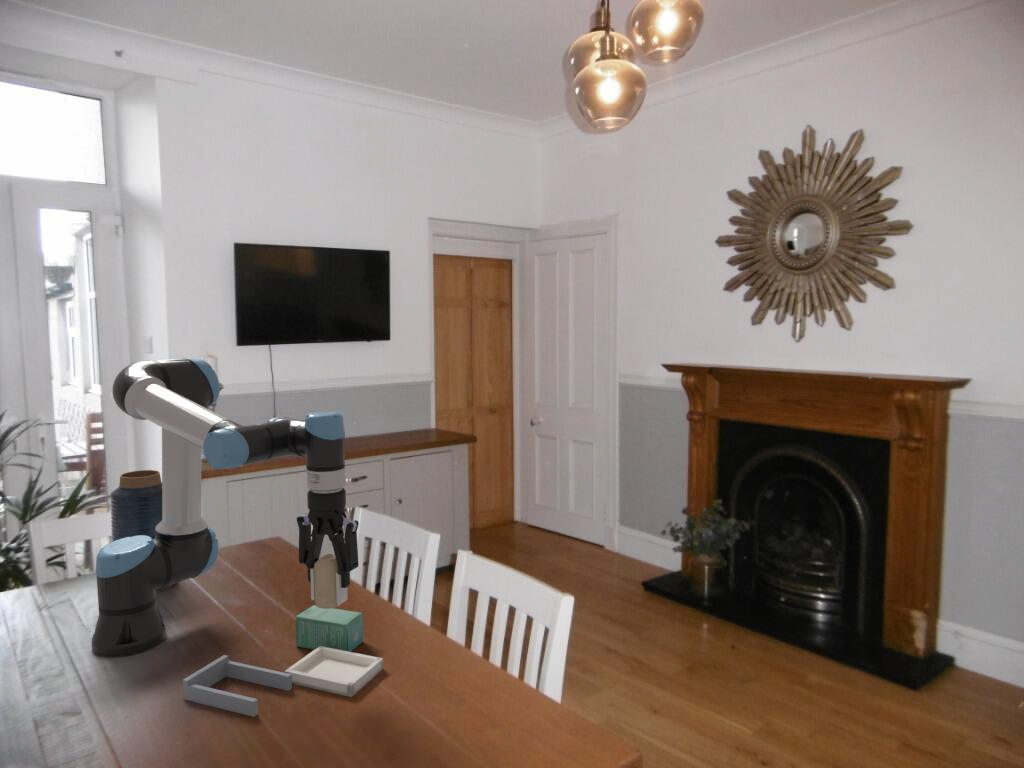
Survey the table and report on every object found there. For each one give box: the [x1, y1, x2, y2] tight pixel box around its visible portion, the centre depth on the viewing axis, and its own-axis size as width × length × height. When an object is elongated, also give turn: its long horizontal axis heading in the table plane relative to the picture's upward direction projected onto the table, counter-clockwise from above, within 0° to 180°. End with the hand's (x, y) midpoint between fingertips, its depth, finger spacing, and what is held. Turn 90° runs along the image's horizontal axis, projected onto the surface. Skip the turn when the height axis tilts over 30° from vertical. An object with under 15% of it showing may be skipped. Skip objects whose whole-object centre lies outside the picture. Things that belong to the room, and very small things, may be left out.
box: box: [295, 604, 365, 652], centre depth 164 cm, size 7×14×8 cm, turn 72°
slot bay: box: [182, 654, 293, 718], centre depth 143 cm, size 17×11×4 cm, turn 69°
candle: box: [314, 553, 342, 609], centre depth 147 cm, size 6×6×10 cm
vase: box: [110, 469, 175, 594], centre depth 198 cm, size 16×16×32 cm
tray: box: [283, 646, 384, 698], centre depth 150 cm, size 16×12×2 cm
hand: (329, 599), depth 148 cm, fingers closed on candle, 5 cm apart
